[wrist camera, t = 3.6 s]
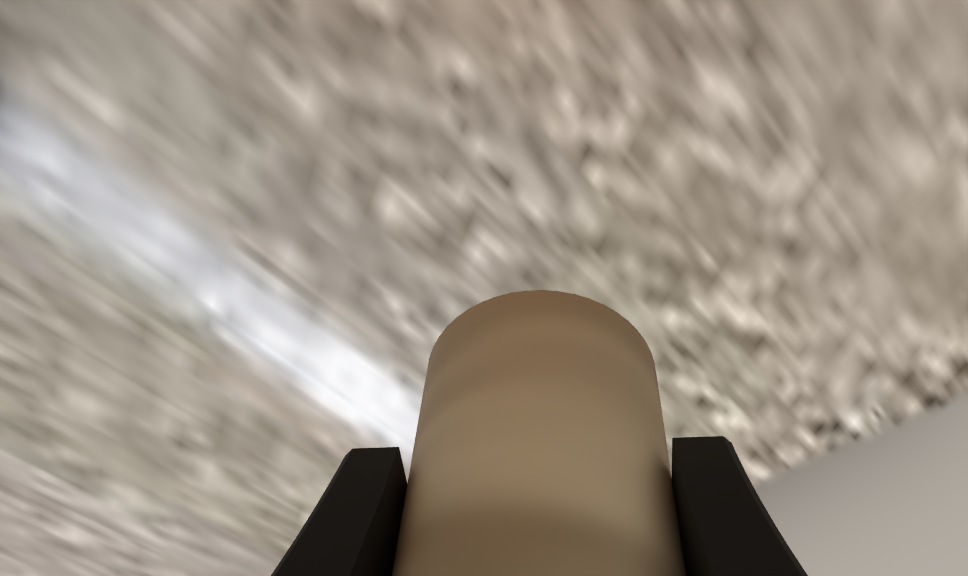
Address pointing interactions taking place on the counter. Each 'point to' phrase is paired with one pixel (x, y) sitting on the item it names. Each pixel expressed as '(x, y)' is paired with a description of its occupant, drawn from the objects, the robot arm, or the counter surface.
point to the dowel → (540, 448)
